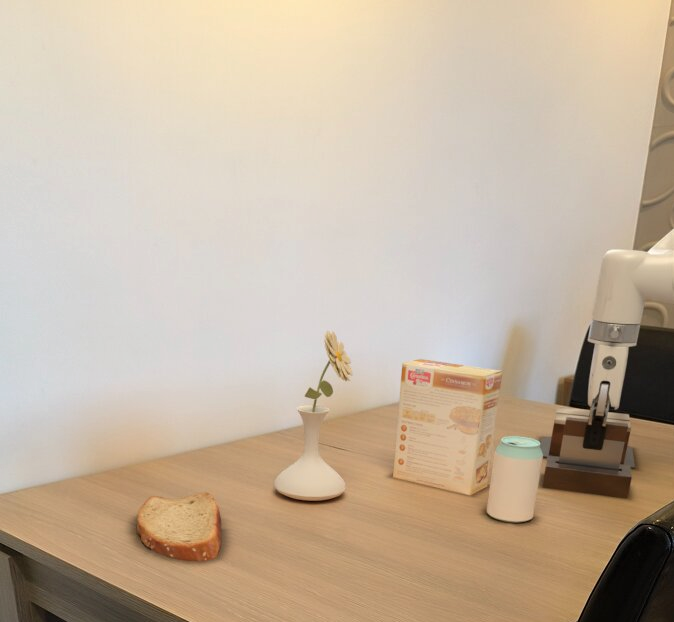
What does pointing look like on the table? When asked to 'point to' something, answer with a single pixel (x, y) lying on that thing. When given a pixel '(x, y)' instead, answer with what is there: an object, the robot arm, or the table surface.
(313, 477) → the flower in vase
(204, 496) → the bread slice
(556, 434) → the wooden box
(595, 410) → the robot arm
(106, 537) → the table surface
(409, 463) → the coffeecake box
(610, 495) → the slotted wooden block
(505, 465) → the can
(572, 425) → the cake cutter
